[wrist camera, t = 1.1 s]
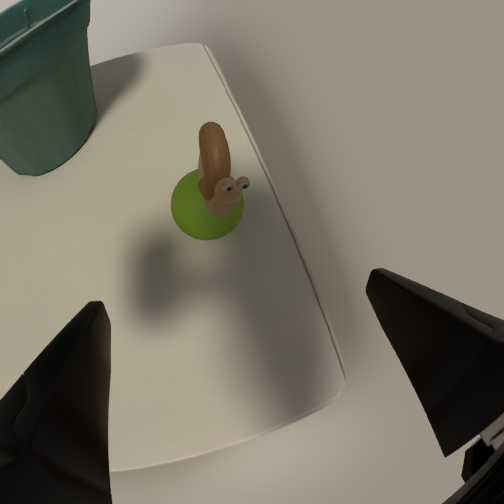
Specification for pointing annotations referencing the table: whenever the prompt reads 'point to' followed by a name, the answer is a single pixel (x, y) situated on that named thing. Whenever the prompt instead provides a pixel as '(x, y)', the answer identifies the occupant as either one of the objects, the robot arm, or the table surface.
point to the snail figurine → (209, 190)
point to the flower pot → (44, 83)
